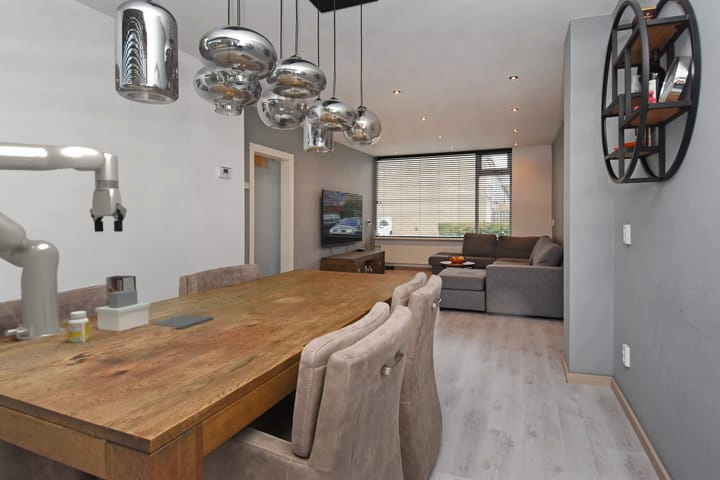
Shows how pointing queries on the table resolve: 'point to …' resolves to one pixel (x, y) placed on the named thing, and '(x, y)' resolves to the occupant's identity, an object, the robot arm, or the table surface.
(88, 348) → the table surface
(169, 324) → the charcoal mat
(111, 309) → the sage lid
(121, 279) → the coffee box
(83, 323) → the supplement bottle
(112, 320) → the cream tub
